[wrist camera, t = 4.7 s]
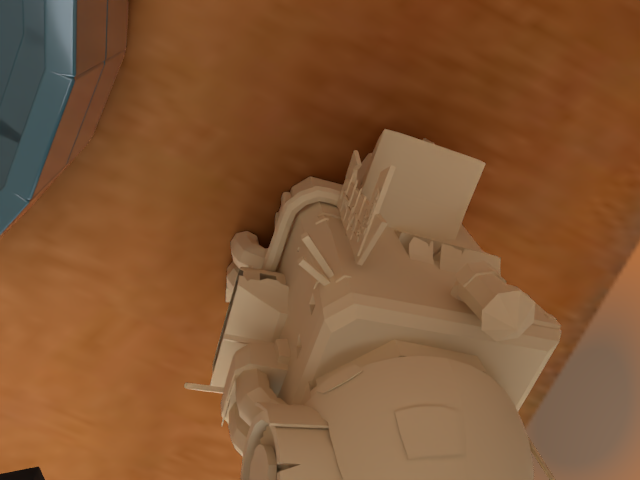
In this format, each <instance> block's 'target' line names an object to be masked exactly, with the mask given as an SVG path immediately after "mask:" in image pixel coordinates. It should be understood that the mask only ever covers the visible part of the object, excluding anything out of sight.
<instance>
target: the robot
mask: <svg viewBox="0 0 640 480" xmlns="http://www.w3.org/2000/svg"><path fill="white" fill-rule="evenodd" d="M485 164H486V163H484V162H482V161H480V160H478V159H475V158H472V157H469V156H467V155H464V154H461V153H458V152H455V151H452V150H449V149H446V148H443V147H441V146H438V145H435V144H434V142H432V141H430V140H428V139H426V138H424V139H423V140H420V139H417V138H414V137H411V136H408V135H405V134H402V133H398V132H395V131H391V130H387V129H384V131H383V132H382V134H381V135H380V137H379V139H378V141H377V144H376V146H375V148H374V150H373V153H369V154H368V155H367V156H366V157H365V159H364V160H363V161H362V163H361V160H360V156H359V152H358V151H357V150H354V151H353V154H352V157H351V161H350V164H349V167H348V170H347V174H346V177H345V181H344V184H343V185H341V184H338V183H334V182H330V181H326V180H322V179H319V178H315V177H311V176H310V177H308V178H306V179H305V180H303V181H301V182H300V183H298V184H296V185H295V186H293V187H292V188H291V191H290V192H283V194H282V197H281V207H280V209H279V212H276V215H275V231H274V234H273V237H272V240H271V243H270V245H269V248H266V249H265V248H263V247H262V246H260V245H259V242H258V238H257V236H256V235H254V234H252V233H250V232H249V231H244V232H240V233H236V234H235V236H234V237H233V239H232V240H231V242H230V244H231V254H232V258H233V262H232V263H231V264H230V265H229V266H228V267H227V277H226V278H227V283H226V302H230V303H229V307H228V310H227V314H226V318H225V321H224V325H223V329H222V332H221V336H220V340H219V343H218V347H217V350H216V354H215V358H214V361H213V375H212V379H211V384H210V386H209V385H201V384H193V383H185V385H184V387H185V388H186V389H192V390H200V391H208V392H216V393H223V396H222V400H221V416H222V417H223V420H222V424H221V426H223V422H224V419H225V420H226V422H227V423H228V424H229V425H228V428H229V433H230V437H231V441H232V443H233V445H234V448H235V450H236V451H237V452H238V453H239V454H240V455H241V456H242V457H243V460H242V469H241V480H534V471H533V470H534V469H533V459H532V454H531V451H532V453H533V454H534V456H535V457H536V459H537V461H538V462H539V464H540V466H541V467H542V469H543V470H544V472H545V473H546V475H547V477H548V478H549V480H556V479H555V478H554V476H553V475H552V473H551V472H550V470H549V469H548V467H547V465H546V464H545V462H544V461H543V459H542V457H541V456H540V454H539V453H538V451H537V450H536V448H535V446H534V445H533V444H532V442H531V440H530V439H529V437H528V435H527V434H526V431H525V428H524V425H523V422H522V420H521V418H520V416H519V414H518V411H519V409H520V407H521V405H522V404H523V402H524V400H525V399H526V397H527V395H528V394H529V392H530V390H531V389H532V387H533V385H534V383H535V382H536V380H537V378H538V377H539V375H540V373H541V372H542V370H543V368H544V366H545V365H546V363H547V361H548V360H549V358H550V356H551V355H552V353H553V351H554V349H555V348H556V346H557V344H558V343H559V340H560V336H561V330H559V329H560V327H561V325H560V324H559V323H558V322H557V321H556V320H557V319H556V318H555V317H554V316H553V315H551V314H548V313H547V312H545V311H544V310H543V309H542V308H541V307H540V306H539V305H537V304H536V303H535V301H533V300H532V299H531V298H530V296H529V295H528V294H526V293H524V292H522V291H521V290H520V289H519V288H518V287H516V286H512V285H508V284H506V280H505V279H503V278H502V277H501V274H500V262H501V257H500V258H498V256H494V255H490V254H488V253H486V252H484V251H482V249H481V248H480V247H479V246H478V244H477V243H476V242H475V240H474V239H473V238H472V237H471V235H470V234H469V233H468V231H467V230H466V229H465V228H464V226H463V225H462V224H461V223H462V221H463V218H464V215H465V212H466V210H467V207H468V205H469V203H470V200H471V198H472V195H473V193H474V191H475V188H476V186H477V183H478V181H479V178H480V176H481V174H482V171H483V169H484V166H485Z"/></svg>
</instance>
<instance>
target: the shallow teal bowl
mask: <svg viewBox="0 0 640 480" xmlns="http://www.w3.org/2000/svg"><path fill="white" fill-rule="evenodd" d="M128 3H129V0H0V238H1V237H3V235H4V234H5V233H6V232H7V231H8V230H9V229H10V228H11V227H12V226H13V225H14V224H15V223H16V222H17V221H18V220H19V219H20V218H21V217H22V216H23V215H24V213H25V212H26V211H27V210H28V209H29V208H30V207H31V206H32V205H33V204H34V203H35V202H36V201H37V200H38V199H39V197H40V196H41V195H42V194H43V193H44V192H45V191H46V190H47V189H48V187H49V186H50V185H51V184H52V183H53V182H54V181H55V180H56V179H57V177H58V176H59V175H60V174H61V173H62V172H63V171H64V170H65V169H66V167H67V166H68V165H69V164H70V163H71V162H72V161H73V160H74V159H75V158H76V156H77V155H78V154H79V153H80V152H81V151H82V150H83V149H84V148H85V146H86V145H87V144H88V143H89V141H90V140H91V139H92V137H93V134H94V132H95V129H96V127H97V124H98V122H99V119H100V116H101V114H102V111H103V109H104V106H105V104H106V101H107V99H108V96H109V93H110V91H111V88H112V86H113V83H114V81H115V78H116V76H117V73H118V70H119V68H120V65H121V63H122V60H123V58H124V55H125V53H126V50H125V49H126V47H127V26H128Z"/></svg>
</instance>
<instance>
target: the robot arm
mask: <svg viewBox="0 0 640 480" xmlns="http://www.w3.org/2000/svg"><path fill="white" fill-rule="evenodd" d="M0 480H45V479H44V477H43V475H42V472H41V470H40V468H39V467H34V468H29V469H24V470H19V471H14V472H9V473H3V474H0Z"/></svg>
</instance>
